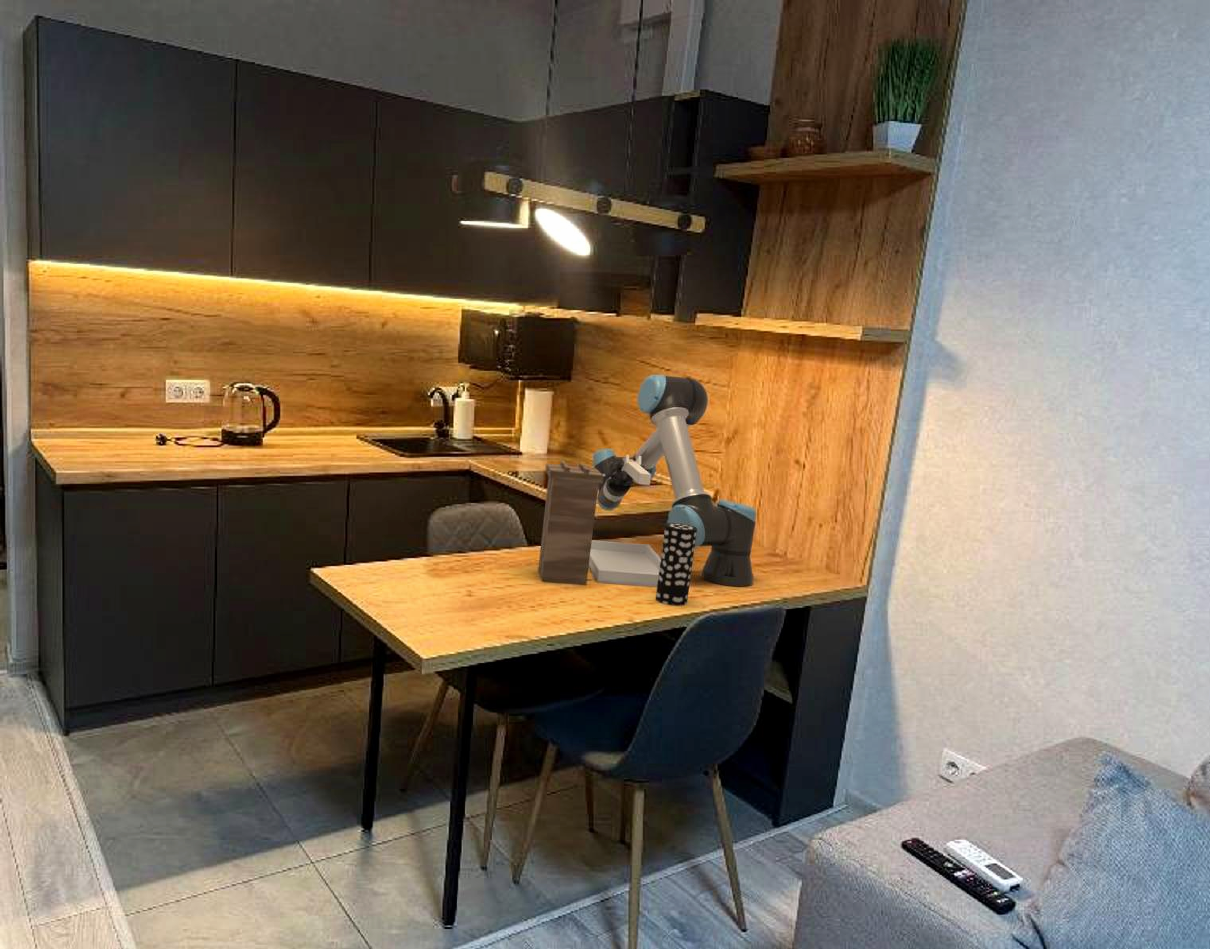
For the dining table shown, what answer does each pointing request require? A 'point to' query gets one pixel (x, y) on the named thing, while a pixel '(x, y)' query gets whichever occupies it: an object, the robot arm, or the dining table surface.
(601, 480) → the stand
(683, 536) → the spotted tube
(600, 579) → the tray
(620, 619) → the dining table surface
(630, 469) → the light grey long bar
